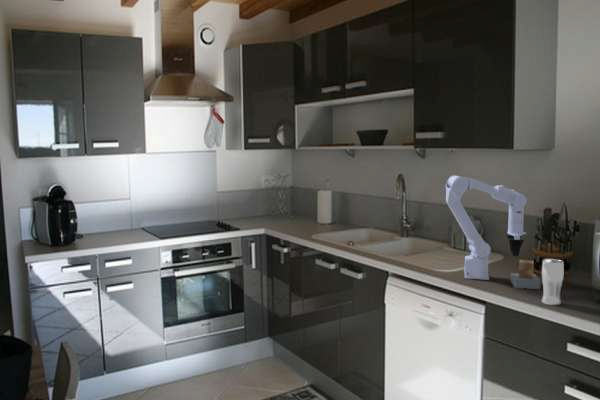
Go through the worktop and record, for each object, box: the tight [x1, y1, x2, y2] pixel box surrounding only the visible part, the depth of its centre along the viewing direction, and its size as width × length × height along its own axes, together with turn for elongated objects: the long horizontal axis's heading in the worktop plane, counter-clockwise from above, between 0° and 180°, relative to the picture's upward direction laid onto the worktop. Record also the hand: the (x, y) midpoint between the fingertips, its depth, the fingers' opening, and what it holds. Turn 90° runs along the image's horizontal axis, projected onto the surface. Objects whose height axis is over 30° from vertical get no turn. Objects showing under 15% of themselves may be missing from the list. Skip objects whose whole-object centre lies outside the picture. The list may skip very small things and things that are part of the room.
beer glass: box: [540, 258, 565, 306], centre depth 179 cm, size 7×7×15 cm
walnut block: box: [518, 259, 534, 279], centre depth 201 cm, size 5×5×6 cm
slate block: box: [510, 272, 541, 290], centre depth 202 cm, size 9×9×4 cm
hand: (514, 253), depth 213 cm, fingers open, 7 cm apart
